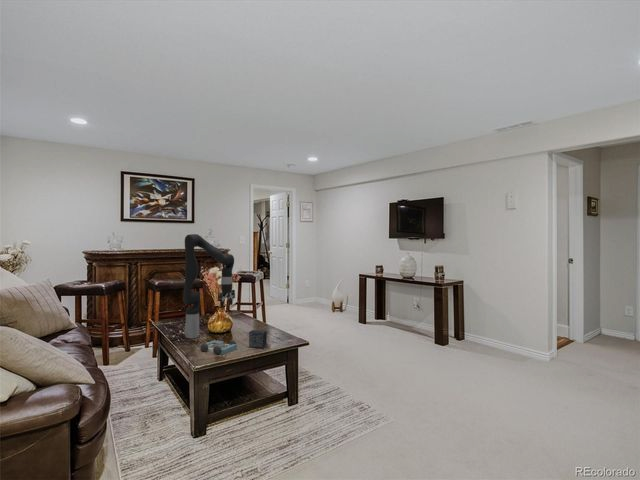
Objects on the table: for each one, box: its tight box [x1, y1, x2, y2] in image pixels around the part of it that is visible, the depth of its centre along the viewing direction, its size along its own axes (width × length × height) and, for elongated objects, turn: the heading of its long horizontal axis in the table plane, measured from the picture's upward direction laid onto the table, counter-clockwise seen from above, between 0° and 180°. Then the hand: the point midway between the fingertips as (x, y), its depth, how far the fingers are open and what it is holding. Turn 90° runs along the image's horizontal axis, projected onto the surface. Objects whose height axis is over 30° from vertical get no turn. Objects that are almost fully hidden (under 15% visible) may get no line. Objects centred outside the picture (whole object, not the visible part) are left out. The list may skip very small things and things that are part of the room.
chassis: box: [199, 337, 238, 356], centre depth 231 cm, size 20×16×5 cm
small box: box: [248, 329, 268, 350], centre depth 237 cm, size 11×6×10 cm, turn 77°
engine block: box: [212, 340, 226, 349], centre depth 231 cm, size 6×4×5 cm
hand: (226, 305), depth 247 cm, fingers open, 8 cm apart
